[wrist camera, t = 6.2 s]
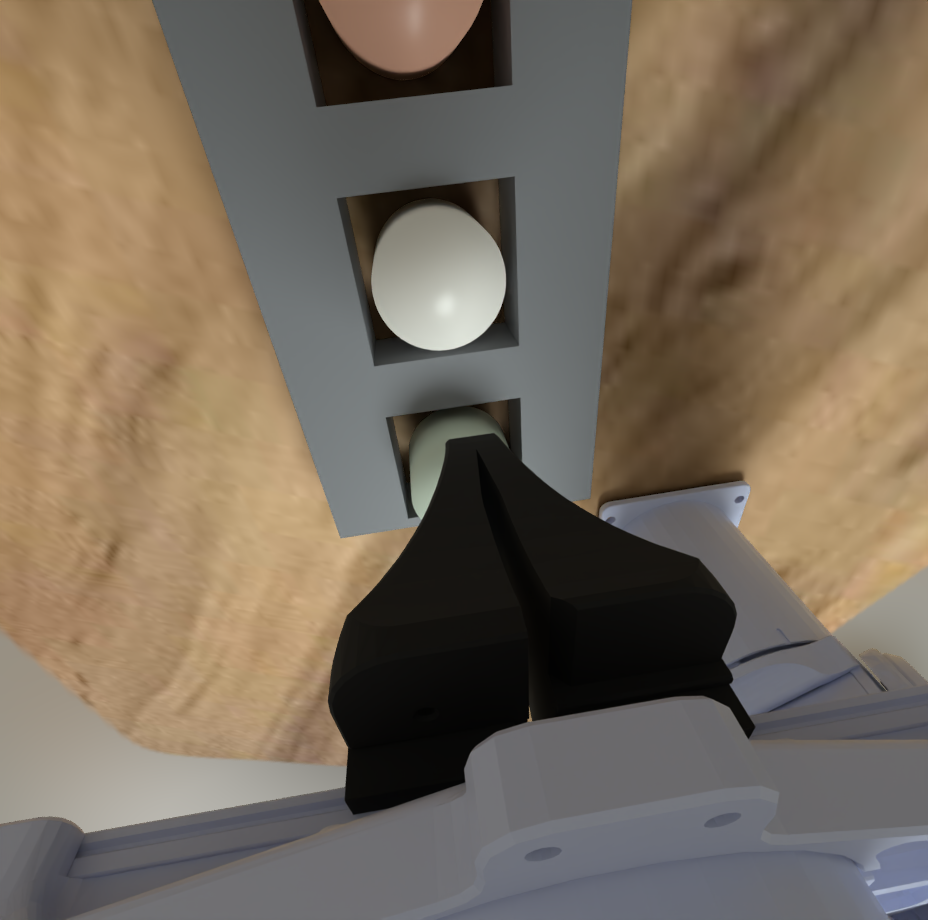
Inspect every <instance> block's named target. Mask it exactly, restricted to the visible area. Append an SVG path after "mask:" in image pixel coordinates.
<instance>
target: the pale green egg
mask: <svg viewBox="0 0 928 920" xmlns="http://www.w3.org/2000/svg"><path fill="white" fill-rule="evenodd" d="M490 433H495V434H496V435H497V436H498V437H499V438H500V439H501V440H502V441H503V442H504V444H505V445H506V446H507V447H508V444H507V442H506V439H505V436H504V434H503V431H502V429H501V427H500V425H499V424H498V422H497V421H496V420H495V419H494V418H493V417H492V416H490V415H489V414H488V413H486V412H484V411H482V410H480V409H477V408H473V407H468V406H460V407H454V408H447V409H441V410H438V411H436V412H434V413H432V414H430V415H429V416H427V417H426V418H425V419H424V420H422V421H421V423H420V424H419V425H418V426H417V427H416V429H415V430H414V432H413V434H412V436H411V439H410V444H409V461H410V479H411V497H412V504H413V507H414V509H415V512H416V513H417V515H418V516H419V518H420V519H421V520H422V518H423V517H424V514H425V512H426V510H427V508H428V506H429V504H430V501H431V499H432V496H433V494H434V491H435V489H436V486H437V483H438V480H439V477H440V473H441V470H442V466H443V462H444V457H445V443H446V442H447V441H448V440H449V439H454V438H461V437H469V436H476V435H483V434H490ZM508 448H509V447H508Z"/></svg>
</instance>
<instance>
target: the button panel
mask: <svg viewBox="0 0 928 920" xmlns="http://www.w3.org/2000/svg"><path fill="white" fill-rule="evenodd" d="M152 2H153V4H154V7H155V10H156V13H157V16H158V19H159V21H160V24H161V27H162V30H163V33H164V36H165V39H166V41H167V44H168V47H169V50H170V53H171V56H172V59H173V61H174V64H175V67H176V70H177V73H178V76H179V79H180V81H181V84H182V87H183V90H184V93H185V96H186V99H187V101H188V104H189V107H190V110H191V113H192V116H193V119H194V121H195V124H196V127H197V130H198V133H199V136H200V138H201V141H202V144H203V147H204V150H205V153H206V156H207V158H208V161H209V164H210V167H211V170H212V173H213V176H214V178H215V181H216V184H217V187H218V190H219V193H220V196H221V198H222V201H223V204H224V207H225V210H226V213H227V216H228V218H229V221H230V224H231V227H232V230H233V233H234V235H235V238H236V241H237V244H238V247H239V250H240V253H241V255H242V258H243V261H244V264H245V267H246V270H247V273H248V275H249V278H250V281H251V284H252V287H253V290H254V293H255V295H256V298H257V301H258V304H259V307H260V310H261V313H262V315H263V318H264V321H265V324H266V327H267V330H268V332H269V335H270V338H271V341H272V344H273V347H274V350H275V352H276V355H277V358H278V361H279V364H280V367H281V370H282V372H283V375H284V378H285V381H286V384H287V387H288V390H289V392H290V395H291V398H292V401H293V404H294V407H295V410H296V412H297V415H298V418H299V421H300V424H301V427H302V429H303V432H304V435H305V438H306V441H307V444H308V447H309V449H310V452H311V455H312V458H313V461H314V464H315V467H316V469H317V472H318V475H319V478H320V481H321V484H322V487H323V489H324V492H325V495H326V498H327V501H328V504H329V507H330V509H331V512H332V515H333V518H334V521H335V524H336V527H337V529H338V532H339V535H340V538H346V537H352V536H358V535H364V534H371V533H377V532H383V531H390V530H396V529H402V528H408V527H415V526H419V524H420V522H421V519H420V518H419V516H418V515H417V513H416V512H415V509H414V507H413V504H412V497H411V482H410V483H406V478H405V473H404V469H403V464H402V459H401V454H400V450H399V445H398V440H397V436H396V431H395V426H394V422H393V417H392V416H399V415H406V414H413V413H420V412H426V411H433V410H440V409H447V408H454V407H460V406H467V405H474V404H481V403H488V402H494V401H501V400H508V408H509V431H510V450H511V451H512V452H513V453H514V454H515V455H516V456H517V457H518V458H519V459H520V460H521V461H522V462H523V463H524V464H525V465H526V466H527V467H528V468H529V469H530V470H531V471H533V472H534V473H535V474H536V475H537V476H538V477H539V478H541V479H542V480H543V481H544V482H545V483H547V484H548V485H549V486H550V487H552V488H553V489H554V490H555V491H557V492H558V493H559V494H561V495H562V496H564V497H565V498H566V499H568V500H570V501H571V502H572V501H578V500H584V499H590V496H591V484H592V472H593V460H594V448H595V437H596V425H597V413H598V401H599V389H600V377H601V366H602V354H603V342H604V330H605V318H606V306H607V294H608V283H609V271H610V259H611V247H612V235H613V223H614V211H615V200H616V188H617V176H618V164H619V152H620V140H621V129H622V117H623V105H624V93H625V81H626V69H627V57H628V46H629V34H630V22H631V10H632V0H491V21H492V44H493V67H494V87H493V88H484V89H475V90H466V91H457V92H448V93H439V94H430V95H421V96H413V97H404V98H395V99H386V100H377V101H368V102H359V103H350V104H341V105H332V106H326V103H325V98H324V93H323V89H322V84H321V79H320V75H319V70H318V65H317V60H316V56H315V51H314V46H313V42H312V37H311V32H310V28H309V23H308V18H307V14H306V9H305V4H304V0H152ZM490 179H498V180H499V203H500V226H501V249H502V258H503V261H504V266H505V272H506V289H505V295H504V317H505V322H503V323H496V324H491V325H490V326H489V327H488V329H487V330H486V331H485V332H484V333H483V334H481V335H480V336H479V337H478V338H476V339H475V340H473V341H472V342H470V343H468V344H466V345H464V346H461V347H458V348H455V349H450V350H440V351H438V350H428V349H423V348H419V347H416V346H414V345H412V344H409V343H407V342H406V341H404V340H402V339H401V338H400V337H395V338H388V339H380V340H376V337H375V332H374V328H373V323H372V318H371V314H370V309H369V304H368V300H367V295H366V290H365V286H364V281H363V276H362V272H361V267H360V262H359V257H358V253H357V248H356V243H355V239H354V234H353V229H352V225H351V220H350V215H349V211H348V206H347V201H346V197H351V196H359V195H367V194H375V193H383V192H392V191H400V190H408V189H416V188H424V187H432V186H441V185H449V184H457V183H465V182H473V181H481V180H490Z"/></svg>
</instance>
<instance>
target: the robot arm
mask: <svg viewBox="0 0 928 920" xmlns="http://www.w3.org/2000/svg"><path fill="white" fill-rule="evenodd" d="M750 489H751V487H750V486H749V485H748V484H747V483H746V482H745V481H736V482H730V483H723V484H717V485H711V486H705V487H698V488H692V489H686V490H680V491H673V492H667V493H661V494H655V495H648V496H642V497H636V498H630V499H623V500H617V501H611V502H607V503H605V504H603V505H602V506H601V508H600V511H599V518H598V517H596V516H594V515H592V514H591V513H589V512H587V511H585V510H584V509H582V508H580V507H579V506H577V505H576V504H574V503H573V502H571V501H570V500H568V499H566V498H565V497H564V496H562V495H561V494H559V493H558V492H557V491H555V490H554V489H553V488H552V487H550V486H549V485H548V484H547V483H545V482H544V481H543V480H542V479H541V478H539V477H538V476H537V475H536V474H535V473H534V472H533V471H531V470H530V469H529V468H528V467H527V466H526V465H525V464H524V463H523V462H522V461H521V460H520V459H519V458H518V457H517V456H516V455H515V454H514V453H513V452H512V451H511V450H510V449H509V448H508V447H507V446H506V445H505V444H504V442H503V441H502V440H501V439H500V438H499V437H498V436H497V435H496V434H495V433H490V434H483V435H476V436H469V437H461V438H454V439H449V440H448V441H447V442H446V443H445V457H444V462H443V466H442V470H441V473H440V477H439V480H438V483H437V486H436V489H435V491H434V494H433V496H432V499H431V501H430V504H429V506H428V508H427V510H426V512H425V514H424V517H423V518H422V520H421V522H420V524H419V526H418V528H417V530H416V531H415V533H414V535H413V536H412V538H411V539H410V541H409V543H408V544H407V546H406V547H405V549H404V550H403V552H402V553H401V555H400V556H399V558H398V559H397V560H396V562H395V563H394V564H393V565H392V567H391V568H390V569H389V570H388V572H387V573H386V574H385V575H384V577H383V578H382V579H381V580H380V582H379V583H378V584H377V585H376V586H375V587H374V589H373V590H372V591H371V592H370V593H369V594H368V595H367V596H366V597H365V598H364V599H363V600H362V601H361V602H360V603H359V604H358V605H357V606H356V607H355V608H354V609H353V610H352V611H351V612H350V613H349V614H348V615H347V617H346V620H345V622H344V625H343V628H342V631H341V634H340V637H339V641H338V644H337V648H336V652H335V656H334V660H333V665H332V670H331V679H330V687H329V696H328V704H329V708H330V713H331V715H332V717H333V719H334V721H335V723H336V725H337V727H338V729H339V731H340V733H341V735H342V737H343V739H344V741H345V742H346V744H347V746H348V760H347V774H346V786H345V787H344V788H338V789H332V790H327V791H321V792H315V793H310V794H304V795H299V796H293V797H287V798H282V799H276V800H270V801H265V802H259V803H253V804H248V805H242V806H236V807H231V808H225V809H220V810H214V811H208V812H202V813H197V814H191V815H185V816H180V817H174V818H169V819H163V820H157V821H152V822H146V823H140V824H135V825H129V826H124V827H118V828H112V829H106V830H101V831H95V832H90V833H84V832H83V831H82V829H80V827H78V826H77V825H76V824H75V823H73V822H71V821H69V820H66V819H64V818H59V817H38V818H32V819H26V820H21V821H15V822H9V823H4V824H0V920H928V682H927V681H926V680H925V679H924V678H923V677H922V676H921V675H920V674H919V673H918V672H917V671H916V670H915V669H914V668H913V667H912V666H911V665H910V664H909V663H908V662H907V661H905V660H904V659H903V658H902V657H899V656H896V655H891V654H887V653H884V654H882V653H880V652H879V651H878V650H876V649H873V648H872V649H868V650H867V651H865V652H863V653H861V654H859V656H860V657H861V659H862V660H863V661H864V662H865V663H866V664H867V666H868V667H869V668H870V669H871V670H872V671H873V673H874V674H875V675H876V676H877V677H878V678H879V679H880V681H881V684H882V685H883V686H884V687H885V689H886V690H887V691H886V690H885V689H884V688H883V687H882V685H881V684H880V683H879V682H878V681H877V680H876V679H875V678H874V677H873V675H872V674H871V673H870V672H869V671H868V670H867V669H866V668H865V667H864V666H863V665H862V664H861V663H860V662H859V661H858V660H857V659H856V658H855V657H854V656H853V655H852V654H851V653H850V652H849V651H848V650H847V649H846V647H845V646H843V645H842V644H841V642H840V641H838V639H837V638H836V637H834V636H833V635H831V633H830V632H829V631H828V630H827V629H826V628H825V627H824V625H823V624H822V623H821V622H820V621H819V620H818V619H817V618H816V616H815V615H814V614H813V613H812V612H811V611H810V610H809V609H808V607H807V606H806V605H805V604H804V603H803V602H802V601H801V599H800V598H799V597H798V596H797V595H796V594H795V593H794V592H793V590H792V589H791V588H790V587H789V586H788V585H787V584H786V583H785V581H784V580H783V579H782V578H781V577H780V576H779V575H778V574H777V572H776V571H775V570H774V569H773V568H772V567H771V566H770V564H769V563H768V562H767V561H766V560H765V559H764V558H763V557H762V555H761V554H760V553H759V552H758V551H757V550H756V549H755V548H754V546H753V545H752V544H751V543H750V542H749V541H748V540H747V538H746V537H745V536H744V535H743V534H742V533H741V532H740V531H739V529H738V525H739V522H740V519H741V516H742V513H743V510H744V507H745V504H746V502H747V499H748V496H749V493H750ZM609 517H611V518H609ZM607 518H609V519H607ZM529 707H530V712H531V717H532V722H527V719H529Z"/></svg>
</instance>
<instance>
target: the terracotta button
mask: <svg viewBox="0 0 928 920" xmlns="http://www.w3.org/2000/svg"><path fill="white" fill-rule="evenodd" d="M319 2H320V4H321V5H322V7H323V9H324V11H325V13H326V15H327V17H328V19H329V21H330V22H331V24H332V26H333V28H334V30H335V32H336V33H337V35H338V37H339V38H340V40H341V41H342V43H343V44H344V46H345V47H346V48H347V50H348V51H349V52H350V53H351V54H352V55H353V56H354V57H355V59H357V60H358V61H359V62H360V63H361V64H362V65H364V66H365V67H366V68H368V69H369V70H371V71H372V72H374V73H377V74H379V75H381V76H383V77H387V78H390V79H396V80H411V79H416V78H420V77H423V76H425V75H427V74H429V73H431V72H433V71H434V70H436V69H437V68H438V67H439V66H441V65H442V64H443V63H444V62H445V61H446V60H447V59H448V58H449V57H450V55H451V54H452V52H453V51H454V50H455V48H456V47H457V45H458V44H459V43H460V41H461V40H462V39H463V37H464V36H465V34H466V33H467V31H468V30H469V29H470V27H471V26H472V24H473V22H474V20H475V18H476V16H477V14H478V12H479V9H480V7H481V5H482V2H483V0H319Z"/></svg>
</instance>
